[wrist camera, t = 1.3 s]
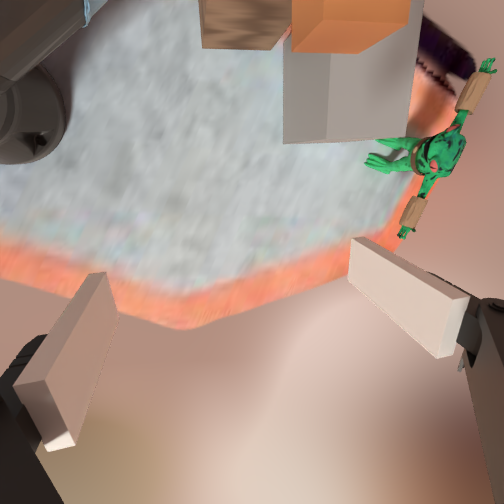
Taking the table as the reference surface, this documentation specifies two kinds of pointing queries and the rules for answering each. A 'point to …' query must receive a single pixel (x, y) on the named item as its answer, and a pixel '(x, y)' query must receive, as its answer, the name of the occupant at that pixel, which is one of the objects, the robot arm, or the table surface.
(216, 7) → the post
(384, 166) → the toy
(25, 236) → the table surface
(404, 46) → the grey upright cuboid
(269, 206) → the table surface
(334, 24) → the orange rectangular bar
